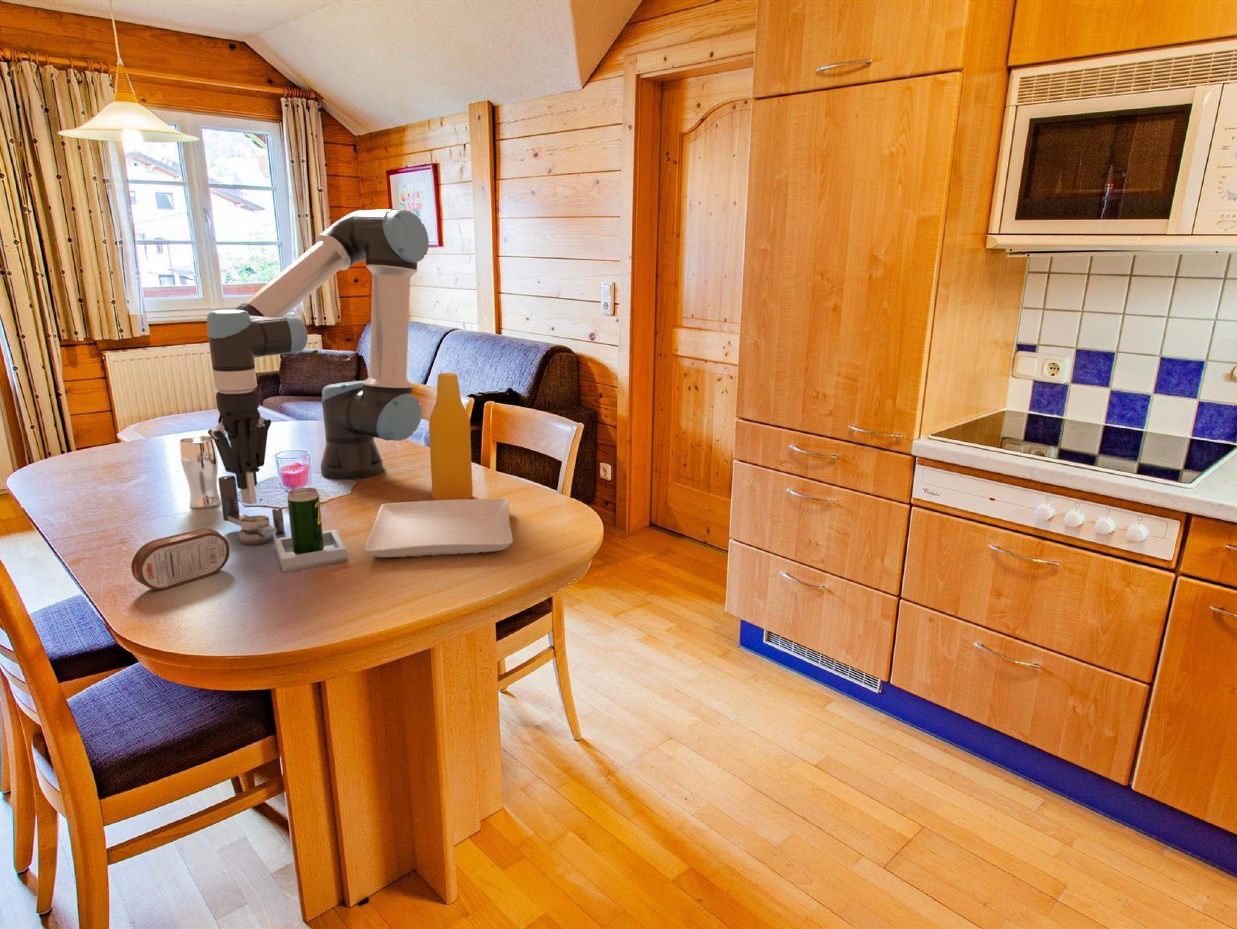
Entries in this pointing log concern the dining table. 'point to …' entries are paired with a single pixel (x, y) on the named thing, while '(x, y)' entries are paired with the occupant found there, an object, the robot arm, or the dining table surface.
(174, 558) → the tin
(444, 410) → the beer bottle
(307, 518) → the beer can
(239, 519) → the crank
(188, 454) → the beer glass
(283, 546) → the tray
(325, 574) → the dining table surface
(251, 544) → the base
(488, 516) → the square plate
